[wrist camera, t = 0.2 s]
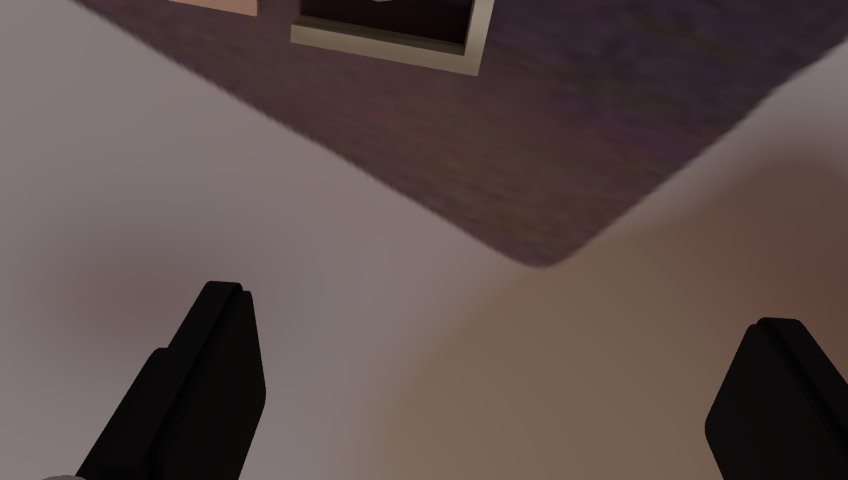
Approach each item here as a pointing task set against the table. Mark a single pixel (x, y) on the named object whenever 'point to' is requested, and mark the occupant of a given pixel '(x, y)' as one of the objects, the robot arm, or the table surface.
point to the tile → (229, 5)
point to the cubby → (400, 41)
